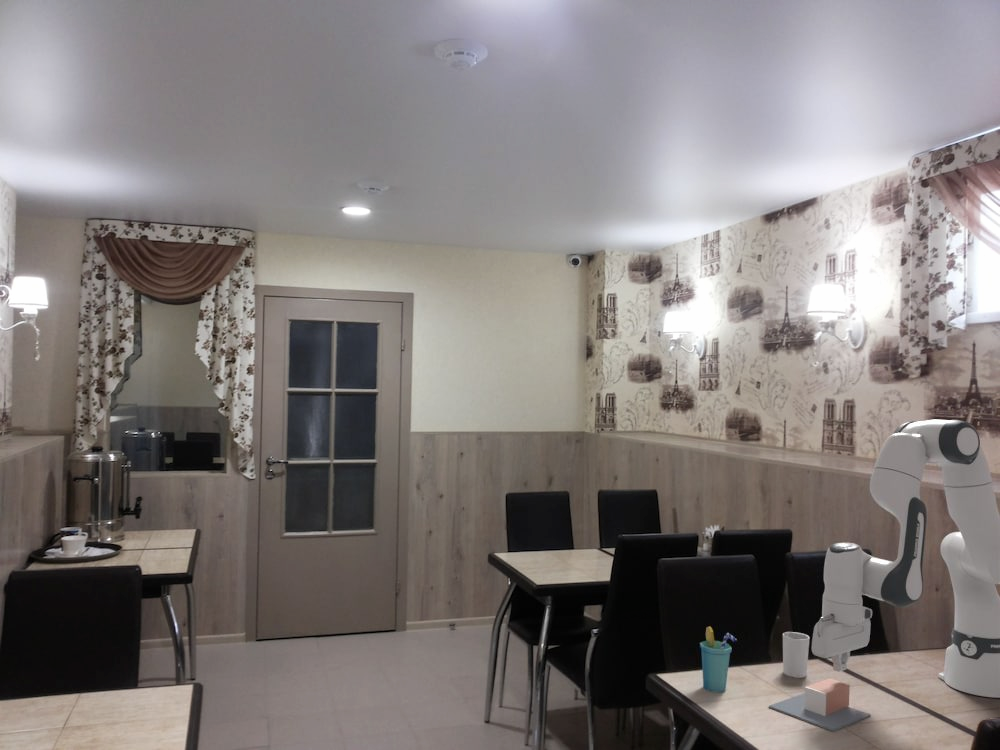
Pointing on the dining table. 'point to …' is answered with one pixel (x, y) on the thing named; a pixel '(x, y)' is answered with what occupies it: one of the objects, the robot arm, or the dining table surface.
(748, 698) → the dining table surface
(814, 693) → the block
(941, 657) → the dining table surface
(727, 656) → the cup
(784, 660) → the drinking glass
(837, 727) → the mat
